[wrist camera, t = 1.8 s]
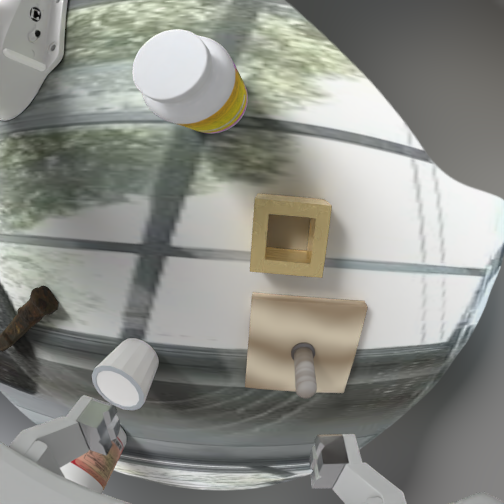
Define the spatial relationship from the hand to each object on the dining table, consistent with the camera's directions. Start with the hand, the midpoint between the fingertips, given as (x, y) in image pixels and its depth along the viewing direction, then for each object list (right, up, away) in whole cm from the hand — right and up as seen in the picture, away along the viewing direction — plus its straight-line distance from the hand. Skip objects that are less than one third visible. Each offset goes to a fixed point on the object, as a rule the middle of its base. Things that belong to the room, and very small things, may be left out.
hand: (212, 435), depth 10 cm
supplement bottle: (-2, +22, +17) cm, 27 cm away
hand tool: (-33, -4, +27) cm, 43 cm away
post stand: (+7, -3, +23) cm, 24 cm away
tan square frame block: (+5, +9, +19) cm, 22 cm away
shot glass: (-13, -6, +26) cm, 30 cm away
